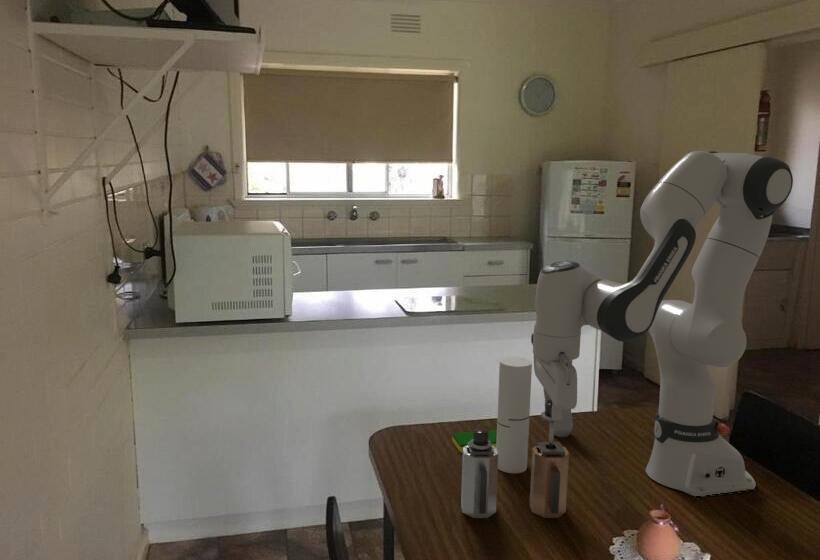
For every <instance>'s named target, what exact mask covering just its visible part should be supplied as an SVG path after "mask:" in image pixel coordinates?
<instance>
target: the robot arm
mask: <svg viewBox="0 0 820 560" xmlns="http://www.w3.org/2000/svg"><path fill="white" fill-rule="evenodd" d="M793 177H794V176H793V173H792V171H791V167H790V166H789V164H787V163H786V162H784V161H782V160H780V159H778V158H776V157H772V156H761V155H756V154H752V153H747V152H718V151H715V150H714V151H707V150H700V149H699V150H693V151H691V152H687V154H685V155H684V156H683V157H681V159H679V160H678V161H677V162H676V163H675V164H674V165H672V166H671V167H670V168H669V170H668V171H666V172H665V173H664V175H663V176H662V177H661V178H660V179H659V180H658V182H657V183H656V184H655V185H654V186H653V188H652V189H650V191H649V192H648V194H647V195H646V197H645V199H644V200H643V203H642V205H641V207H640V211H639V216H640V222H641V224H642V226H643V228H644V230H645V231H646V232H647V234H648V235H649V236H651V237H650V238H652V239H653V240H654V245H653V248H652V250H651V252H650V253H649V255H648V257H647V258H646V260H645V262H643V264H642V266H641V268H640V269H639V271H638V272H637V274H636V275H635V277H634V278H633V279H632V280H630V281H628V282H626V283H620V282H616V281H615V280H614V281H613V280H611V279H607V278H604V277H602V276H600V275H596V274H594V273H592V272H590V271H588V270H586V269H585V268H584V267H582V265H581V264H580V263H579V262H576V261H569V260H566V261H556V262H552V263H548V264H547V265H545V266H543V267H542V268H541V270H540V272H539V274H538V278H537V283H536V289H535V301H534V309H535V310H534V311H535V315H536V319H535V324H534V326H533V332H532V333H531V336H530V342H531V345H532V354H533V369H534V374H535V375H534V376H535V377H536V379H537V380H538V381H539V383H540V384H541V387H543V395H544V404H545V403H546V402H547V401H552V403H553V404H552V409H551V414H550V415H551V417H552V419H553V420H560V419H561V415H562V410H563V409H571V410H574V409H575V408H576V407H577V404H578V403H577V402H578V373H577V372H578V371H577V369H576V367H575V366H574V365H573V360H576V359H579V357H580V355H581V353H580V351H581V349H580V348H581V339H582V338H581V335H582V327H583V326H590V327H591V328H593V329H596V330H598V331H601V332H604V333H605V334H606V335H608V336H609V337H612V338H613V339H614V340H616V341H618V342H621V343H622V342H624V343H627V342H628V343H629V342H633V341H636V340H638V339H641V338H642V337H643V336H644V335H645V334H647V332H649V335H650V336H651V338H652V341H653V344H654V348H655V353H656V358H657V362H658V369H659V378H660V379H659V380H660V381H659V383H660V384H659V385H660V386H659V400H658V401H659V402H658V410H657V411H656V413H655V420H654V421H655V422H654V428H653V429H654V442H653V446H652V451H651V454H650V457H649V460H648V463H647V465H646V468H645V473H646V474H647V476H648V477H649V478H650V479H652V481H653V480H654V482H656V483H658V484H661V485H662V486H665V487H668V488H671V489H674V490H677V491H682V492H684V493H686V494H688V495H691V496H693V497H696V496H701V497H707V496H706V495H710V496H713V495H712V494H719V495H721V494H720V493H727V492H734V491H740V490H746V489H754V488H755V487H757V486H756V480H755V479H754V478H753V476H752V475H751V474H750V473H749V472H748V471H747V470H746V467H745V466H746V465H745V460H744V458H743V456H742V454H741V453H740V452H739V451H738V449H736V448H735V447H734V446H733V445H732V444H730V442H728V441H727V439H724V438H723V437H722V436H721V435H723V436H727V435H728V434H730V428H729V426H727V425H726V424H725V423H723V422H722V423H720V421H719V420H718V419H716V418H714V409H715V408H714V406H715V397H716V384H715V382H714V379H713V378H712V376H711V375H710V373H709V370H708V367H707V366H711V367H716V368H727V367H730V366H733V365H734V364H736V363H737V362H738V361H739V360H740V359H741V358H742V356H743V355H744V353H745V351H746V348H747V336H746V335H747V334H746V332H745V330H744V328H743V325H742V303H743V299H744V294H745V291H746V288H747V286H748V283H749V281H750V279H751V277H752V274H753V272H754V270H755V268H756V266H757V264H758V261H759V259H760V257H761V256H762V253H763V251H764V248H765V245H766V244H767V243H766V242H767V241H768V237H769V234H770V230H771V226H772V222H773V215H774V213H775V212H776V211H777V210H778V209H780V208H781V207H782V205H784V203H785V202H786V201H787V199H788V198H789V196H790V194H791V192H792V189H793V185H794V178H793ZM713 205H717V206H720V212H719V215H718V217H717V219H716V220H715V222H714V223H713V225H712V227H711V229H710V230H709V232H708V235H707V237H706V239H705V241H704V242H703V245H702V247H701V249H700V251H699V253H698V255H697V257H696V259H695V261H694V264H693V266H692V269H691V277H692V279H693V282H694V297H693V300H692V303H690V302H687V301H684V300H681V299H664V298H665V296H666V294H667V293H668V290H670V287H671V286H672V284H673V283H674V281H675V279H676V278H677V276H678V274H679V273H680V271H681V269H682V268H683V266H684V265H685V263H686V261H687V259H688V258H689V256H690V254H691V252H692V250H693V248H694V245H695V243H696V238H697V233H696V230H697V227H698V225H699V224H700V223H701V221H702V220H703V218H704V217H705V216H706V214H708V212H709V211H710V209H711V207H712V206H713ZM719 433H720V434H721V435H720V434H719Z"/></svg>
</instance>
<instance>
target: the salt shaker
mask: <svg viewBox="0 0 820 560" xmlns="http://www.w3.org/2000/svg"><path fill="white" fill-rule="evenodd" d="M562 414H563V415H564V419H563V420H562V421H558V422H554V437H558V438H567V437H568V436H570V434H571V433H572V430H573V428H574V423H573V415H572V409H563V410H562Z"/></svg>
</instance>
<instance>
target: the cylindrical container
mask: <svg viewBox="0 0 820 560" xmlns="http://www.w3.org/2000/svg"><path fill="white" fill-rule="evenodd" d="M498 369H499V373H498V396H497V397H498V398H497V420H496V421H497V422H496V425H497V426H496V430H497V442H496V449H497V451H498V470H499V471H501V472H503V473H506V474H507V473H508V474H520V473H524V472H525V471H526V470H527V468H528V454H529V453H528V452H529V433H530V413H531V411H530V410H531V393H532V392H531V390H532V372H533V361H532V360H530V359H528V358H524V357H519V356H518V357H517V356H506V357H503V358H500V359H499V367H498Z"/></svg>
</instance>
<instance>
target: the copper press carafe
mask: <svg viewBox="0 0 820 560" xmlns="http://www.w3.org/2000/svg"><path fill="white" fill-rule="evenodd" d="M548 446H549V441H536V445H534V446H532V447H531V448H532V449H531V467H530V470H531V471H530V487H529V489H530V491H529V508H530V511H531V513H533V514H535V515H536V516H537V515H538V516H540V517H542V518H544V519H545V518H546V519H556V518H557V519H559V518H560V517H561V516H563V515H564V514H565V513H567V512H566V511H567V498H568V497H567V495H568V480H569V466H570V465H569V464H570V463H569V461H570V453H569V451H568V450H567V448H566V447H565V446H563V445H562V444H561V442H560V441H553V449H548Z"/></svg>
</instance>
